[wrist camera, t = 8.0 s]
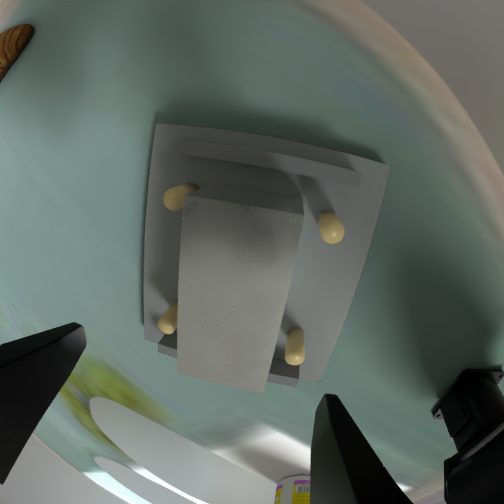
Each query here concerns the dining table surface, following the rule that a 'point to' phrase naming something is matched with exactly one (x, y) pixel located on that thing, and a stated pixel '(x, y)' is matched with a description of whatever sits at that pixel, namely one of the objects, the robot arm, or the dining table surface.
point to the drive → (234, 281)
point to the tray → (310, 244)
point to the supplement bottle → (293, 490)
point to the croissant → (13, 45)
